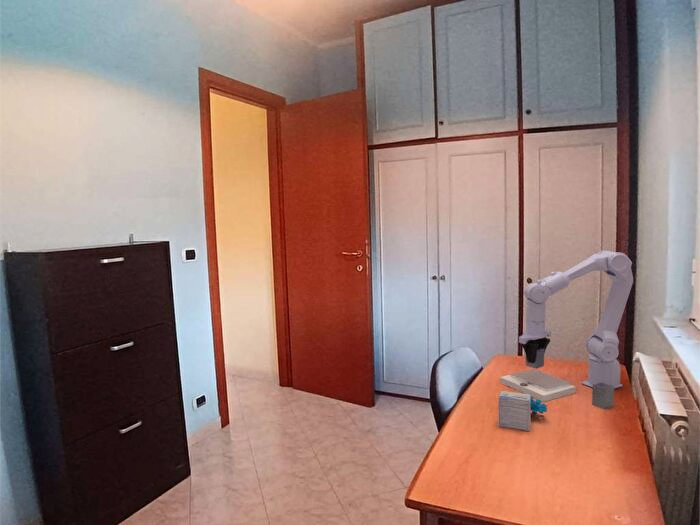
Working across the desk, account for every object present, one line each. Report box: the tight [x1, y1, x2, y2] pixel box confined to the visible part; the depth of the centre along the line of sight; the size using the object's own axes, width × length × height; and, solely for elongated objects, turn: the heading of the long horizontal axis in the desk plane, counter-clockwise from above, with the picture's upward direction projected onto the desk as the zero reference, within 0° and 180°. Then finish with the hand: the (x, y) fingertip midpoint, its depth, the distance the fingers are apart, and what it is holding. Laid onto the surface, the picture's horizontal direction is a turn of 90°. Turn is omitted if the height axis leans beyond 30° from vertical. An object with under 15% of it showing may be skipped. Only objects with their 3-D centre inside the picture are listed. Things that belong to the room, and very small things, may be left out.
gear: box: [531, 396, 548, 414], centre depth 128 cm, size 11×6×10 cm
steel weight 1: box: [525, 347, 545, 370], centre depth 150 cm, size 4×4×6 cm
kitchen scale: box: [499, 368, 576, 403], centre depth 149 cm, size 14×18×3 cm
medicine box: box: [497, 390, 532, 432], centre depth 123 cm, size 8×4×9 cm, turn 65°
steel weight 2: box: [591, 382, 615, 410], centre depth 134 cm, size 4×4×6 cm
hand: (534, 361), depth 150 cm, fingers closed on steel weight 1, 4 cm apart
